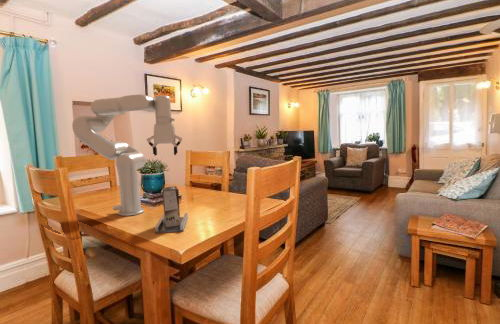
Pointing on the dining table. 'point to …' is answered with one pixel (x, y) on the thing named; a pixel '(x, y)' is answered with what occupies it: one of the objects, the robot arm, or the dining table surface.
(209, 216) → the dining table surface
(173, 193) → the coffee box
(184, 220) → the floor track
